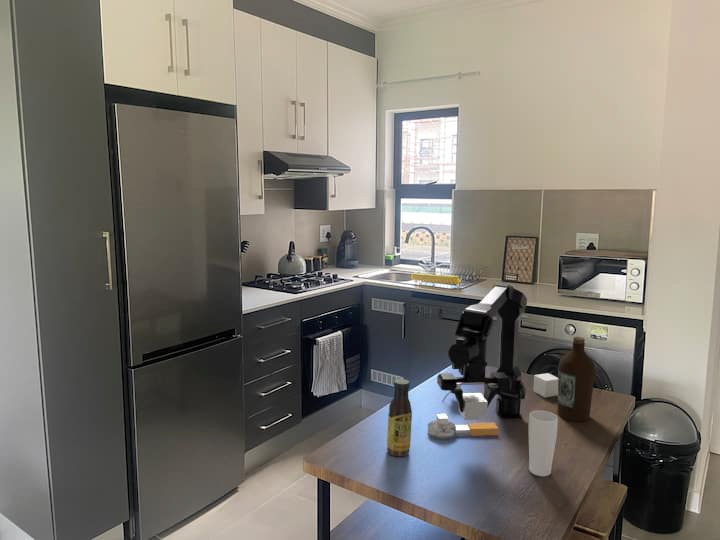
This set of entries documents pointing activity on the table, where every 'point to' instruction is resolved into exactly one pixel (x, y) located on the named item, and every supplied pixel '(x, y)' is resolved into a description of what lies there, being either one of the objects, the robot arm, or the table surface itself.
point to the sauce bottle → (399, 420)
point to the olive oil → (575, 383)
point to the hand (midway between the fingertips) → (472, 411)
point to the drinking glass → (542, 441)
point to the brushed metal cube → (474, 407)
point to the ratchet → (458, 428)
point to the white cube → (546, 385)
